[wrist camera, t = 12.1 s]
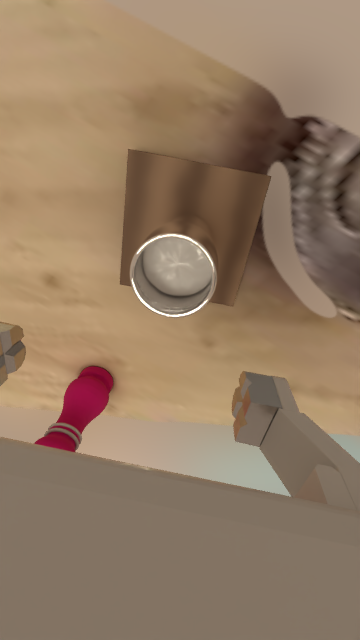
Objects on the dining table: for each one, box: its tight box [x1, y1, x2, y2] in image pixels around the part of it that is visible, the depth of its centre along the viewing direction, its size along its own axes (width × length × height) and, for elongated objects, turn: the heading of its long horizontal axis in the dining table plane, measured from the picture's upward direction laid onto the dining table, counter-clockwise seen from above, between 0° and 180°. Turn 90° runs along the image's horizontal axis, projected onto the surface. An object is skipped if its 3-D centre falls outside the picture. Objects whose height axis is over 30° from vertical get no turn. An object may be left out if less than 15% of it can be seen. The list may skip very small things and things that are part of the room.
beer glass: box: [130, 214, 218, 318], centre depth 26 cm, size 7×7×15 cm
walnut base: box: [120, 149, 271, 306], centre depth 34 cm, size 16×16×3 cm
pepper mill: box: [34, 366, 113, 452], centre depth 40 cm, size 7×7×20 cm
